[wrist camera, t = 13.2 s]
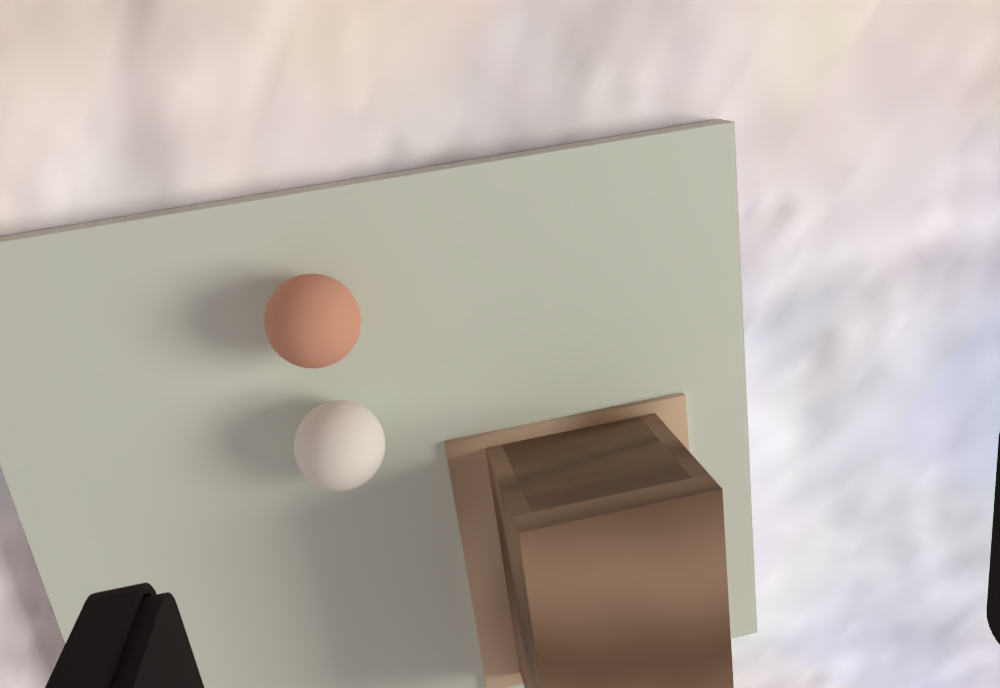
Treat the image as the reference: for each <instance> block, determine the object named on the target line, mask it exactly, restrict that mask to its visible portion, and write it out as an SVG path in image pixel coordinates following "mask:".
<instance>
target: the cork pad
mask: <svg viewBox="0 0 1000 688" xmlns="http://www.w3.org/2000/svg"><path fill="white" fill-rule="evenodd" d="M654 413H656V415H657V416H658V417H659V418H660V419H661V420H662V421H663V422H664V424H665V425H666V426H667V427H668V428H669V429H670V430H671V431H672V433H673V434H674V435H675V436H676V437H677V438H678V439H679V440H680V442H681V443H682V444H683V445H684V446H685V447H686V448H687V450H688V451H689V439H688V424H687V410H686V396H685V394H684V393H683V392H682V393H677V394H672V395H667V396H662V397H657V398H652V399H647V400H642V401H638V402H633V403H628V404H623V405H618V406H613V407H608V408H603V409H598V410H593V411H588V412H583V413H578V414H573V415H569V416H564V417H559V418H554V419H549V420H544V421H539V422H534V423H529V424H524V425H519V426H514V427H509V428H504V429H500V430H495V431H490V432H485V433H480V434H475V435H470V436H465V437H460V438H455V439H450V440H445V441H444V444H445V449H446V455H447V461H448V467H449V472H450V478H451V484H452V490H453V496H454V501H455V507H456V513H457V519H458V524H459V530H460V536H461V542H462V548H463V553H464V559H465V565H466V571H467V576H468V582H469V588H470V594H471V600H472V605H473V611H474V617H475V623H476V628H477V634H478V640H479V646H480V651H481V657H482V663H483V669H484V675H485V680H486V686H487V688H507V687H511V686H515V685H519V684H523V681H522V677H521V674H520V669H519V662H518V656H517V649H516V643H515V636H514V630H513V623H512V617H511V611H510V604H509V598H508V591H507V585H506V578H505V572H504V565H503V559H502V552H501V546H500V539H499V533H498V527H497V520H496V514H495V507H494V501H493V494H492V488H491V481H490V475H489V468H488V462H487V455H486V449H485V448H487V447H492V446H497V445H502V444H507V443H512V442H517V441H522V440H526V439H531V438H536V437H541V436H546V435H551V434H556V433H561V432H566V431H571V430H576V429H580V428H585V427H590V426H595V425H600V424H605V423H610V422H615V421H620V420H625V419H629V418H634V417H639V416H644V415H649V414H654Z"/></svg>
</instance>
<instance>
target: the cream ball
mask: <svg viewBox="0 0 1000 688" xmlns="http://www.w3.org/2000/svg"><path fill="white" fill-rule="evenodd" d="M294 454H295V458H296V462H297V464H298V466H299V468H300V470H301V471H302V473H303V474H304V475H305V476H306V477H307V479H309V480H310V481H311V482H312V483H314V484H315V485H317V486H319V487H321V488H324V489H327V490H332V491H345V490H350V489H354V488H356V487H359V486H361V485H362V484H364V483H366V482H367V481H368V480H369V479H371V478H372V477H373V475H374V474H375V473H376V472H377V470H378V469H379V467H380V465H381V463H382V461H383V458H384V454H385V436H384V432H383V429H382V426H381V424H380V423H379V421H378V419H377V418H376V417H375V416H374V414H373V413H372V412H370V411H369V410H368V409H367V408H365V407H363V406H362V405H360V404H357V403H355V402H351V401H345V400H336V401H330V402H326V403H324V404H321V405H319V406H318V407H316V408H314V409H313V410H311V411H310V412H309V413H308V414H307V415H306V416H305V417H304V419H303V420H302V422H301V423H300V425H299V427H298V429H297V431H296V435H295V439H294Z"/></svg>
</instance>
